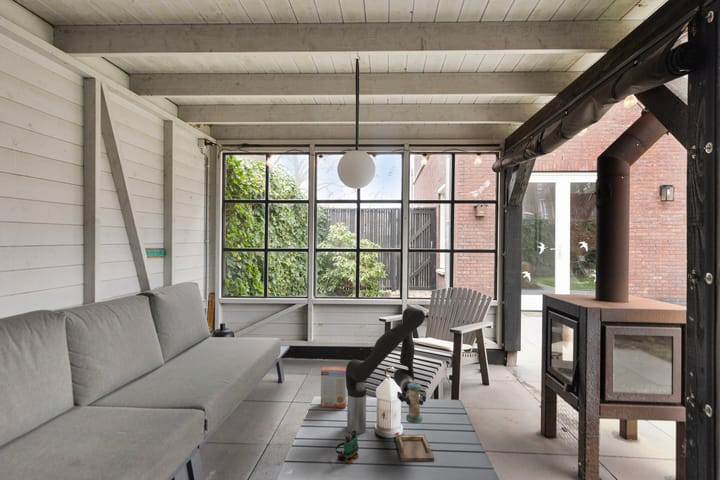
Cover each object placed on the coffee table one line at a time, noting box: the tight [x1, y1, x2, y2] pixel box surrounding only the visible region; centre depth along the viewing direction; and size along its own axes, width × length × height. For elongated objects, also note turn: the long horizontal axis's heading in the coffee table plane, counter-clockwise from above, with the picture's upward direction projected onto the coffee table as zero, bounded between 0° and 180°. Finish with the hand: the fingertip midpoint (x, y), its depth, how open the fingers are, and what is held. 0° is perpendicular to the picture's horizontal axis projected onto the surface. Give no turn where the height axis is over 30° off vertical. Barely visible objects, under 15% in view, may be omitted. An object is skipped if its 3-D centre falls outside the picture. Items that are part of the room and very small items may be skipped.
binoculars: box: [335, 431, 360, 464], centre depth 167 cm, size 9×11×10 cm
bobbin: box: [405, 383, 423, 424], centre depth 175 cm, size 7×7×15 cm
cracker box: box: [320, 366, 348, 409], centre depth 219 cm, size 14×6×21 cm, turn 84°
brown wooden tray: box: [395, 434, 435, 462], centre depth 175 cm, size 14×20×3 cm
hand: (415, 403), depth 172 cm, fingers closed on bobbin, 4 cm apart
